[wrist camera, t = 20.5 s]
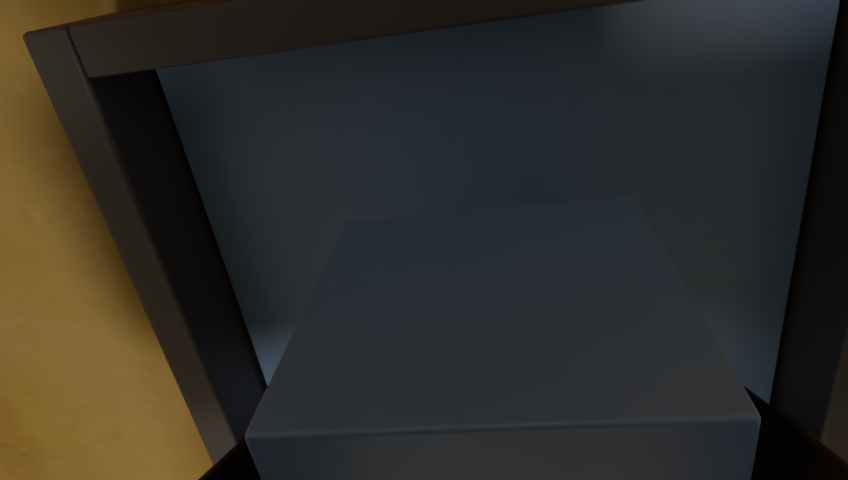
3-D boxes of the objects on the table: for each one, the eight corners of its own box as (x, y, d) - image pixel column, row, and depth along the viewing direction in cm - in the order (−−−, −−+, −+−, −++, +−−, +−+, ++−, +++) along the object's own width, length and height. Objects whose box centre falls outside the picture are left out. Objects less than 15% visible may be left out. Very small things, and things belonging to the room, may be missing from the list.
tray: (892, -111, 9) (1029, -125, 7) (742, 645, 19) (777, 743, 17) (113, 12, 11) (18, 33, 9) (345, 638, 21) (328, 724, 19)
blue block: (635, 193, 8) (765, 418, 4) (630, 415, 10) (716, 702, 7) (344, 220, 9) (240, 436, 5) (392, 424, 11) (342, 689, 7)
